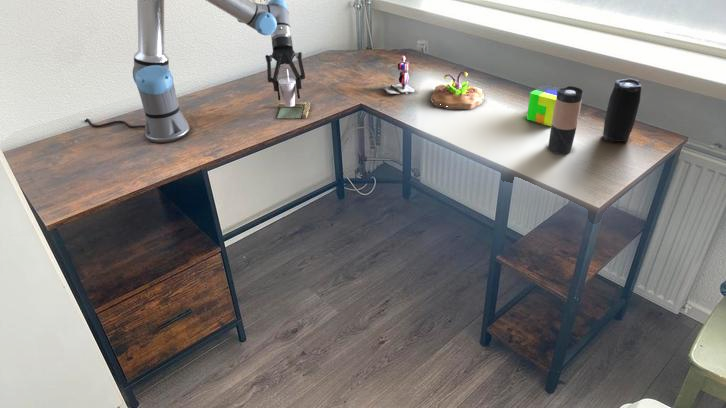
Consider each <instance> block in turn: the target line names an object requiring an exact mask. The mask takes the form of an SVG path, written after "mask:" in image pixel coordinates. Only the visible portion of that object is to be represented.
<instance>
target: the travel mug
mask: <svg viewBox="0 0 726 408" xmlns="http://www.w3.org/2000/svg"><path fill="white" fill-rule="evenodd" d="M558 88H559V89H558V91H557V96H556V102H555V107H554V113H553V118H552V124H551V126H550V130H549V131H550V133H549V138H548V139H549V140H548V150H549V151H550V152H552V153H555V154H559V155H565V154H569V153H570V152H571V151H572V148H573V144H574V140H575V135H576V131H577V127H578V122H579V121H578V120H579V117H580V111H581V107H582V101H583V96H584V91H583V89H582V88H579V87H576V86H571V85H570V86H567V87H558Z"/></svg>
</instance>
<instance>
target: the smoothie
mask: <svg viewBox="0 0 726 408" xmlns="http://www.w3.org/2000/svg"><path fill="white" fill-rule="evenodd" d="M285 71H286V77H283V78H280V79H279V80H277V81H278V84H279V90H280V93H281V96H282V100H283V103H284V104H285V106H286V107H293V106H294V105H295V102H296V80H295V79H296V78H294V77H289V76H290V75H289V69H288V68H286V70H285Z"/></svg>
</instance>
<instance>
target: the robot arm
mask: <svg viewBox="0 0 726 408" xmlns="http://www.w3.org/2000/svg"><path fill="white" fill-rule="evenodd" d="M205 1H206V2H207V3H209V4H211V5H212V6H214V7H216V8H218V9H219V10H221V11H223V12H224V13H226V14H228V15H229V16H231V17H233V18H235V19H236V20H237V22H239V23H242V24H245V25H247V26H248V27H250V28H251V29H253V30H255V31H256V32H257V33H258V34H260V35H262V36H270V39H271V46H272V52H271V54H266V55H265V62H266V69H267V70H266V72H267V73H266V74H267V75H266V76H267V82H268V83H269V84H270V83H272V85H273V91H274V92H277V99H278V101H281V91H280V85H279V84H278V81H279V80H278V78H279V74H280V70H281V66H282V65H288V66H289V67H290V69H291V71H292V73H293V75H294V77H295V78H294V79H295V80H296V83H295V90H296V95H297V99H301V96H300V90H302V87H303V85H302V81H303V80H306V73H305V70H304V64H303V60H302V59H303V53H302V52H301V51H299V52H295V50H294V45H293V40H292V38H293V37H292V30H291V23H290V13H289V7H288V4H287V2H286V1H285V0H268V2H267V4H265V3H258V2H253V1H252V0H205ZM136 2H137V3H136V5H137V6H136V7H137V9H136V10H137V11H136V12H137V48H138V49H137V51H136V53H135V54H133V67H132V79H133V81H134V83H135V86H136V88H137V91H138V93H139V97H140V100H141V104H142V107H143V111H144V114H145V124H139V125H130V124H129V123H128V122H127V121H125V120H114V121H110V122H105V123H102V124H93V123H92V122H91V121H90V119H89V118H85V119H86V120H85V119H84V123H88V125H89V126H90V127H93V128H103V127H107V126H110V125H114V124H124V125H125V126H126V127H128V128H130V129H139V128H140V129H141V128H142V129H143V128H144V135H145V139H146V140H147V141H148V142H150V143H155V144H166V143H167V144H169V143H172V142H176V141H179V140H181V139H183V138H185V137H187V136H188V135H189V133H190V132H191V128H190V125H189V123H188V121H187V119H186V118H185V116H184V115H183V113H182V111H181V108H180V105H179V101H178V96H177V92H176V89H175V84H174V76H173V75H172V72H171V70H170V60H169V59H170V57H169V56H168V55H167V54H166V53H165V0H136ZM294 58H295V59H296V60H297V63H298V67H299V71H300V72H299V71H298V69H297V67H296V66H295V64H294V61H293V60H294ZM273 60H274V61H275V62H276V63H275V67H274V72H273V77H272V63H271V62H272V61H273ZM299 73H300V74H299Z"/></svg>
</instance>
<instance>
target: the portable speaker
mask: <svg viewBox="0 0 726 408" xmlns="http://www.w3.org/2000/svg"><path fill="white" fill-rule="evenodd" d="M642 88H643V85H642V84H641V81H640V80H638V79H635V78H630V77H629V78H624V79H616V80H615V83H614V86H613V89H612V91H611V93H610V96H609V100H608V103H607V108H606V112H605V117H604V122H603V123H604V124H603V133H602V135H603V139H604V140H605V141H606V142H609V143H612V144H613V143H615V142H624V143H626V142H628V140H629V137H630V135H631V133H632V131H633V127H634V125H635V122H636V118H637V114H638V110H639V107H640V104H641V97H642V96H641V95H642Z"/></svg>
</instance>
